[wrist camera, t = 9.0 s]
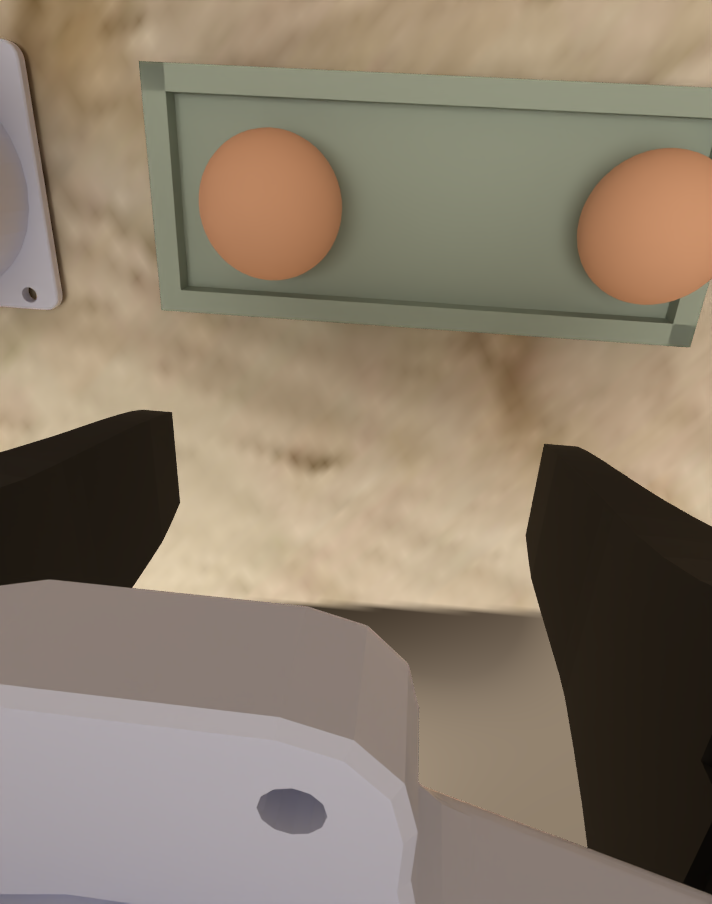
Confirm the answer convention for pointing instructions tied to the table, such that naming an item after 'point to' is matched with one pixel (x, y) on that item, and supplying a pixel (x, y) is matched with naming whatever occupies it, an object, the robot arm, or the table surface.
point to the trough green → (422, 195)
